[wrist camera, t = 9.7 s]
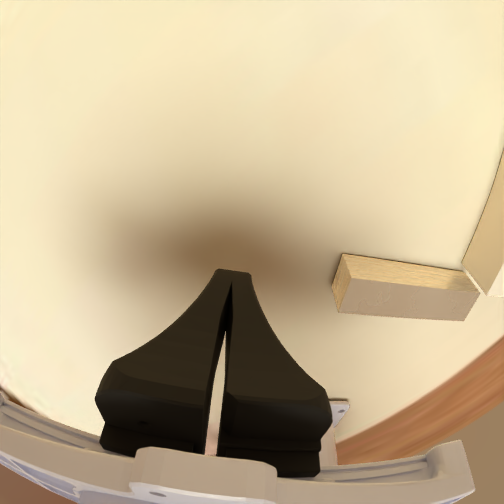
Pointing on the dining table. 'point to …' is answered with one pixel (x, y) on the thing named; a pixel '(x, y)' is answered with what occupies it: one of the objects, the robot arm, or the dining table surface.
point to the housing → (489, 242)
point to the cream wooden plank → (401, 290)
